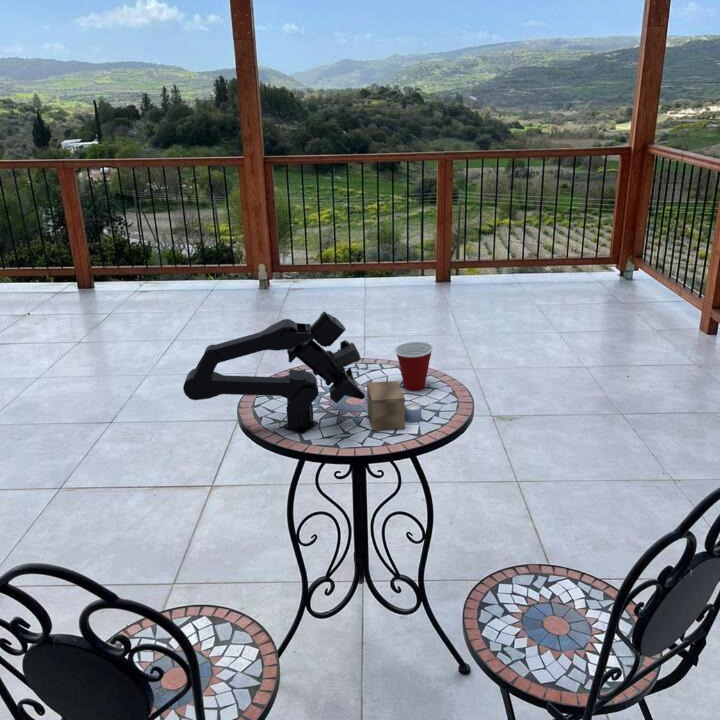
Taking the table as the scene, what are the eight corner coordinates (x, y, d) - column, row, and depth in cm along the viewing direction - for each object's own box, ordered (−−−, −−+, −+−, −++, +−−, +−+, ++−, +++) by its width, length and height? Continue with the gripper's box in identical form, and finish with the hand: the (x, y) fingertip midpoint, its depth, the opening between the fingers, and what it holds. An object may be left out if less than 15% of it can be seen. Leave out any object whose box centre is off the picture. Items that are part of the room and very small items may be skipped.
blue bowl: (416, 423, 170) (416, 411, 169) (401, 419, 173) (400, 408, 171) (424, 417, 174) (424, 405, 173) (409, 413, 176) (409, 401, 175)
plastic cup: (388, 383, 195) (387, 344, 191) (422, 377, 198) (422, 338, 194) (404, 397, 185) (404, 356, 181) (439, 390, 189) (440, 350, 185)
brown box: (372, 430, 167) (372, 400, 164) (367, 411, 177) (366, 382, 174) (404, 428, 168) (404, 398, 165) (397, 409, 178) (397, 380, 175)
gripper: (343, 348, 154) (391, 390, 159) (337, 323, 172) (381, 361, 177) (310, 382, 157) (358, 422, 162) (307, 354, 174) (351, 391, 179)
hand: (363, 397), depth 170 cm, fingers closed
